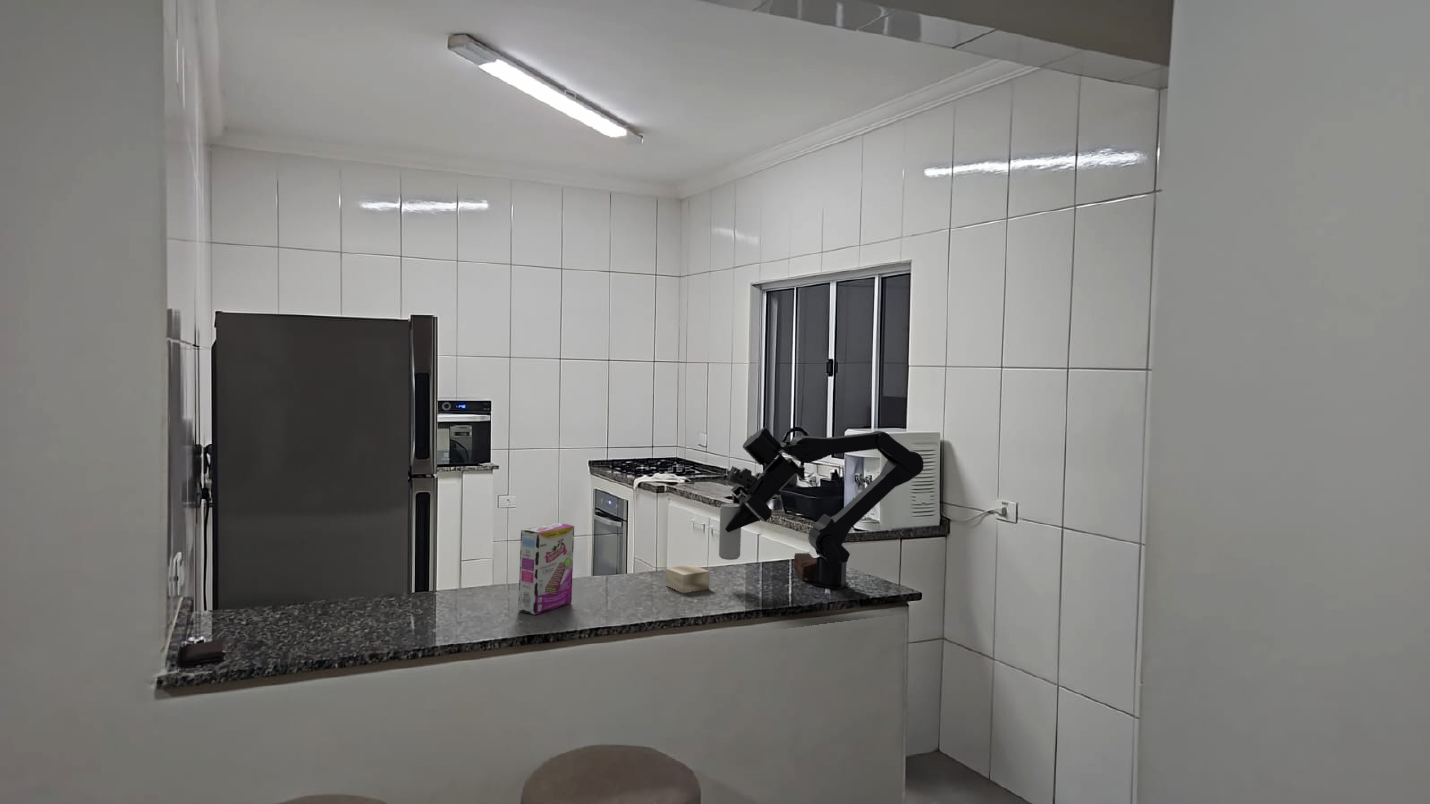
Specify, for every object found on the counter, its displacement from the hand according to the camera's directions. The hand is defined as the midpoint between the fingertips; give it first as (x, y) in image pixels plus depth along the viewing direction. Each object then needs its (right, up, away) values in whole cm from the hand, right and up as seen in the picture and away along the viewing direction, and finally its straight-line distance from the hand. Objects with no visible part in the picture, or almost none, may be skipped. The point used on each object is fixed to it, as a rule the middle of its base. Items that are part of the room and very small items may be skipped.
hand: (724, 528), depth 198 cm
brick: (+20, -14, +13) cm, 27 cm away
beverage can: (+1, -7, +1) cm, 7 cm away
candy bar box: (-36, -13, -20) cm, 43 cm away
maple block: (-8, -13, -1) cm, 16 cm away
